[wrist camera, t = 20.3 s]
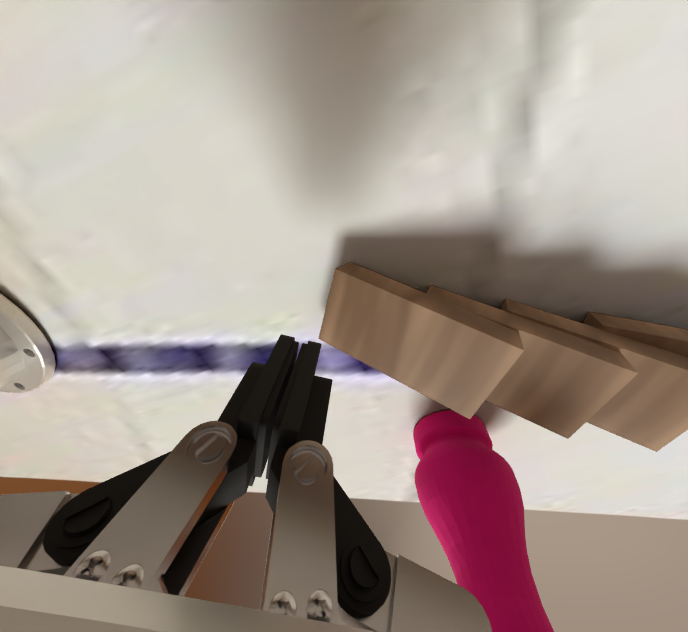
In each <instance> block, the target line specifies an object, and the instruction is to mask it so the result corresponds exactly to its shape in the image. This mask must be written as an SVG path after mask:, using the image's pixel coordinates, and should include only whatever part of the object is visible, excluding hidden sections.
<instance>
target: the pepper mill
mask: <svg viewBox="0 0 688 632" xmlns="http://www.w3.org/2000/svg"><path fill="white" fill-rule="evenodd" d="M413 435H414V442H415V448H416V453H417V455H418V457H419V459H420V462H419V464H418V466H417V468H416V472H415V484H416V489H417V493H418V497H419V500H420V503H421V505H422V508H423V510H424V513H425V515H426V517H427V519H428V521H429V523H430V524H431V526H432V528H433V530H434V532H435V534H436V536H437V537H438V539H439V541H440V543H441V545H442V547H443V549H444V551H445V553H446V555H447V557H448V559H449V562H450V565H451V567H452V570H453V572H454V574H455V577H456V581H457V585H459V586H461V587H463V588H465V589H466V590H467V591H469V592H470V593H471V594H473V595H474V596H475V598H476V599H477V600H478V601H479V603H480V604H481V605H482V607H483V609H484V611H485V613H486V615H487V617H488V619H489V621H490V625H491V629H492V632H554V631H553V628H552V626H551V624H550V622H549V619H548V617H547V615H546V613H545V611H544V608H543V606H542V604H541V600H540V597H539V594H538V592H537V588H536V585H535V582H534V579H533V576H532V573H531V569H530V564H529V559H528V555H527V549H526V540H525V527H524V506H523V501H522V496H521V492H520V488H519V485H518V483H517V480H516V477H515V475H514V472H513V470H512V468H511V467H510V465H509V464H508V463H507V461H506V460H505V459H504V458H503V457H502V456H500V455H499V454H498V453H496V452H495V451H493V450H492V441H491V439H490V437H489V434H488V432H487V430H486V428H485V426H484V424H483V422H482V421H481V420H480V419H479V418H478V417H476V416H475V415H473V416H472V417H471V419H468V418H466V417H465V416H463V415H461V414H459V413H457V412H455V411H453V410H444V411H440V412H435V413H432V414H430V415H428V416H426V417H424V418H423V419H422V420H421V421H419V422H418V424H417V425H416V427H415V429H414V433H413Z"/></svg>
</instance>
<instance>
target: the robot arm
mask: <svg viewBox="0 0 688 632" xmlns="http://www.w3.org/2000/svg"><path fill="white" fill-rule="evenodd" d="M294 340H295V338H294V337H290V336H286V335H280V337H279V339H278V341H277V343H276V345H275V347H274V349H273V351H272V353H271V355H270V357H269V359H268V361H267V362H266V364H260V363H256V362H253V363H252V364H251V365H250V367H249V368H248V370H247V372H246V374H245V375H244V377H243V379H242V380H241V382H240V384H239V385H238V387H237V389H236V390H235V392H234V394H233V396H232V397H231V399H230V401H229V402H228V404H227V406H226V407H225V409H224V411H223V413H222V414H221V416H220V418H219V419H218V421H209V422H206V423H203V424H200V425H198V426H197V427H195V428H193V429H192V430H191V431H190V432H189V433H188V434H186V435H185V437H184V438H183V439H182V440H181V441H180V442H179V443H178V445H177V446H176V447H175V448H174V449H173V450H172V451H171V452H169V453H167V454H164V455H162V456H160V457H158V458H155V459H153V460H151V461H149V462H147V463H144V464H142V465H140V466H138V467H136V468H133V469H131V470H129V471H127V472H125V473H122V474H120V475H118V476H116V477H114V478H111V479H109V480H107V481H105V482H102V483H100V484H98V485H96V486H94V487H92V488H89V489H87V490H85V491H84V492H82V493H80V494H70V493H69V492H68V491H58V492H40V493H25V494H24V493H23V494H6V495H0V632H492V629H491V625H490V621H489V619H488V617H487V615H486V613H485V611H484V609H483V607H482V605H481V604H480V603H479V601H478V600H477V599H476V598H475V596H474V595H473V594H471V593H470V592H469V591H467V590H466V589H465V588H463V587H461V586H459V585H457V584H455V583H453V582H451V581H449V580H447V579H445V578H443V577H441V576H440V575H438V574H436V573H433V572H432V571H430V570H428V569H426V568H424V567H422V566H420V565H418V564H416V563H414V562H412V561H410V560H408V559H406V558H405V557H403V556H401V555H398V556H397V557H396V556H394V555H392V554H390V553H388V552H386V551H385V550H384V549H383V547H382V545H381V544H380V542H379V541H378V540H377V538H376V537H375V536H374V534H373V532H372V531H371V529H370V528H369V526H368V525H367V524H366V522H365V521H364V519H363V518H362V516H361V515H360V514H359V512H358V511H357V509H356V508H355V506H354V505H353V504H352V502H351V501H350V499H349V498H348V496H347V495H346V493H345V492H344V490H343V489H342V488H341V486H340V485H339V483H338V482H337V480H336V479H335V477H334V476H333V462H332V457H331V455H330V453H329V451H328V450H327V449H326V448H325V447H324V446H323V445H322V442H323V436H324V430H325V423H326V417H327V411H328V405H329V398H330V392H331V386H332V379H327V378H323V377H318V376H314V375H315V370H316V366H317V362H318V357H319V353H320V348H321V344H320V343H316V342H312V341H308V344H304V343H303V344H302V346H301V349H300V352H299V354H298V357H297V351H298V345H299V342H296V341H294ZM296 357H297V360H296ZM55 366H56V364H55V357H54V353H53V351H52V348H51V346H50V344H49V342H48V341H47V339H46V338H45V336H44V334H43V333H42V332H41V330H40V329H39V328H38V327H37V326H36V324H35V323H34V322H33V321H32V320H31V319H30V318H29V317H28V316H27V315H26V314H25V313H24V312H23V311H22V310H21V309H20V308H19V307H17V306H16V305H15V304H14V303H12V302H11V301H10V300H9V299H7V298H6V297H5V296H4V295H2V294H1V293H0V391H2V392H13V393H21V392H27V391H32V390H34V389H36V388H38V387H39V386H41V385H42V384H44V383H45V382H47V381H48V380H49V379H51V377H52V376H53V374H54V371H55ZM268 456H269V458H268ZM267 459H268V465H267V473H266V479H268V484H267V491H266V499H267V501H268V503H269V505H270V507H271V509H272V511H273V519H272V526H271V533H270V540H269V547H268V555H267V562H266V569H265V576H264V583H263V591H262V598H261V605H260V610H256V609H250V608H245V607H239V606H233V605H228V604H222V603H216V602H211V601H204V600H199V599H193V598H188V597H183V596H184V595H185V593H186V590H187V589H188V587H189V585H190V583H191V581H192V580H193V578H194V576H195V574H196V572H197V570H198V568H199V567H200V565H201V563H202V561H203V559H204V558H205V556H206V554H207V552H208V550H209V548H210V546H211V545H212V543H213V541H214V539H215V537H216V535H217V533H218V532H219V530H220V528H221V526H222V524H223V522H224V521H225V519H226V517H227V515H228V513H229V511H230V509H231V507H232V506H233V503H234V501H235V500H236V499H237V498H239V497H241V496H242V495H243V494H245V493H246V491H247V488H248V486H252V485H253V482H254V480H255V477H261V476H262V474H263V471H264V468H265V465H266V462H267Z"/></svg>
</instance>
